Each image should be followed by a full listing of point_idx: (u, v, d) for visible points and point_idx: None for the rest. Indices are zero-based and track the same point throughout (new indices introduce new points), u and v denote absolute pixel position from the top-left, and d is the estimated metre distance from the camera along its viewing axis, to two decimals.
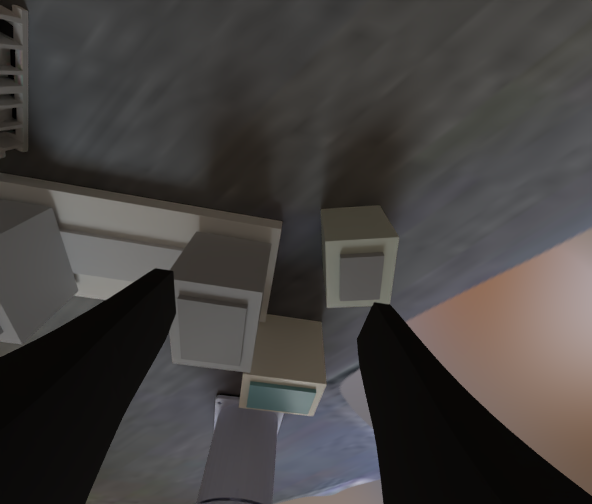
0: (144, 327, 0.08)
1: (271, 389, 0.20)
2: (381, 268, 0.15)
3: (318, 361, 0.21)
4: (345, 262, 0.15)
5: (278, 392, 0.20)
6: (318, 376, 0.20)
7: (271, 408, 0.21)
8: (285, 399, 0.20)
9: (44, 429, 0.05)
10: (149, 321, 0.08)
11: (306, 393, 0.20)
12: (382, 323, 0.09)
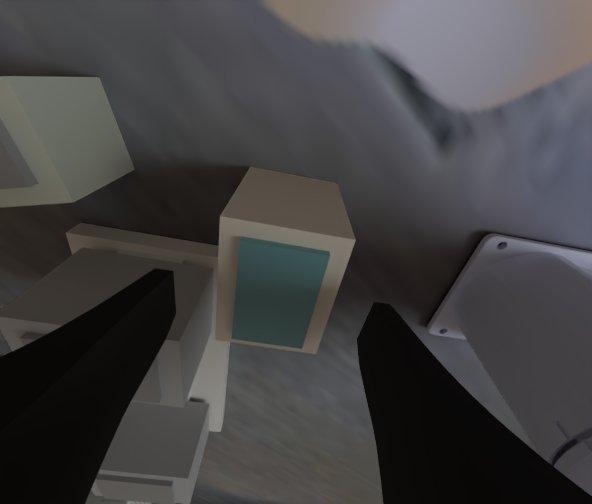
0: (144, 327, 0.08)
1: (239, 312, 0.11)
2: None
3: None
4: None
5: (246, 302, 0.10)
6: None
7: (304, 316, 0.11)
8: (269, 294, 0.10)
9: (44, 429, 0.05)
10: (149, 321, 0.08)
11: (243, 259, 0.09)
12: (382, 323, 0.09)
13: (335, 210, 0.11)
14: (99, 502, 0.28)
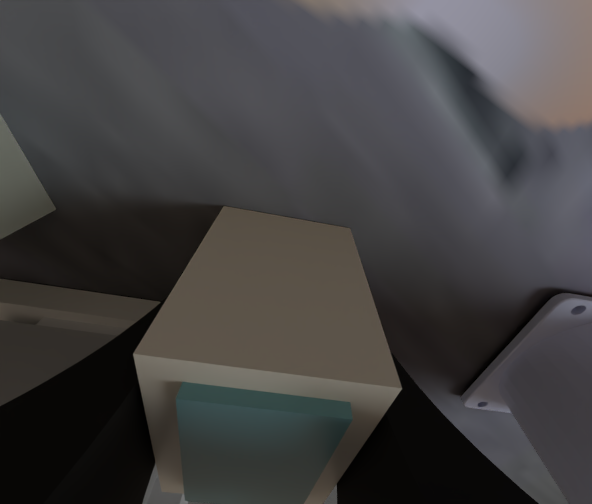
0: None
1: (192, 477, 0.06)
2: None
3: None
4: None
5: (203, 468, 0.06)
6: None
7: (303, 482, 0.06)
8: (241, 460, 0.06)
9: (121, 437, 0.05)
10: None
11: (187, 421, 0.05)
12: None
13: (354, 297, 0.07)
14: None
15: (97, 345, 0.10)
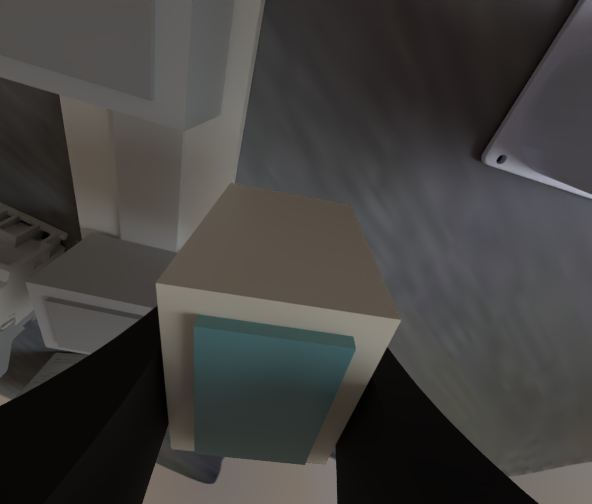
0: None
1: (203, 423, 0.07)
2: None
3: None
4: None
5: (214, 411, 0.06)
6: None
7: (309, 428, 0.07)
8: (251, 400, 0.06)
9: (121, 437, 0.05)
10: None
11: (203, 352, 0.05)
12: None
13: (356, 254, 0.07)
14: None
15: None
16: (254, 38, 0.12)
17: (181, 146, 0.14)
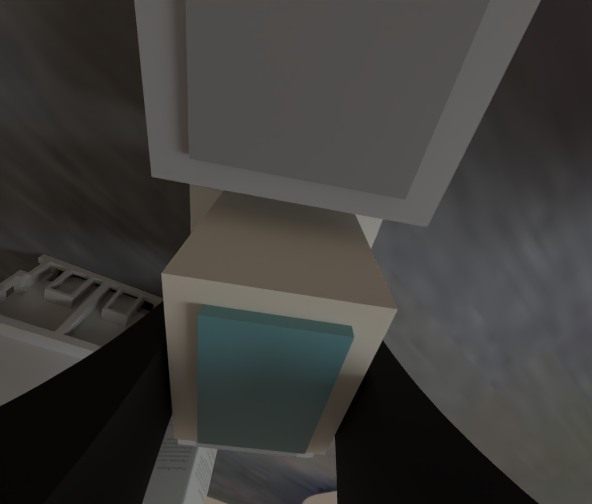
0: None
1: (206, 412, 0.07)
2: None
3: None
4: None
5: (217, 400, 0.06)
6: None
7: (309, 416, 0.07)
8: (252, 389, 0.06)
9: (120, 438, 0.05)
10: None
11: (207, 341, 0.05)
12: None
13: (354, 248, 0.07)
14: (155, 470, 0.21)
15: None
16: None
17: None
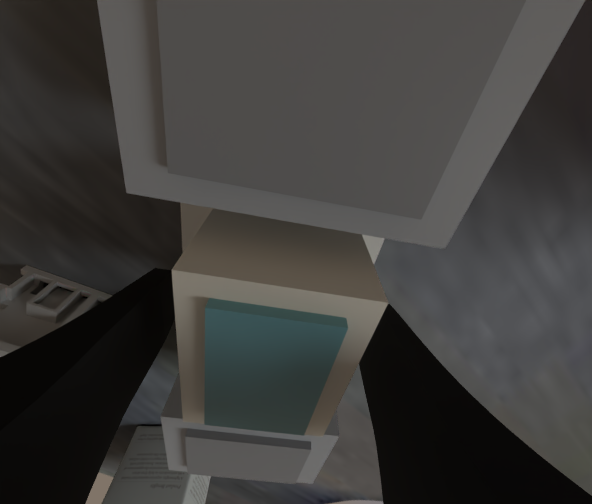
0: (144, 327, 0.08)
1: (213, 396, 0.07)
2: None
3: None
4: None
5: (222, 385, 0.07)
6: None
7: (307, 401, 0.07)
8: (255, 375, 0.07)
9: (45, 429, 0.05)
10: (149, 321, 0.08)
11: (213, 331, 0.06)
12: (382, 323, 0.09)
13: (350, 245, 0.08)
14: (148, 488, 0.20)
15: None
16: None
17: None
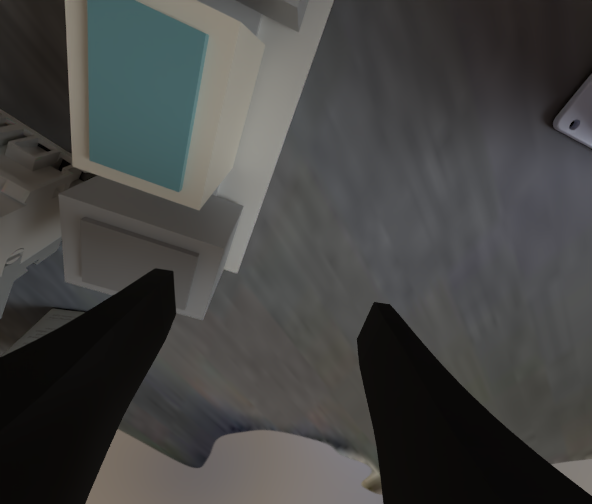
0: (144, 327, 0.08)
1: (96, 115, 0.09)
2: None
3: None
4: None
5: (104, 99, 0.08)
6: None
7: (178, 136, 0.09)
8: (133, 88, 0.08)
9: (45, 429, 0.05)
10: (149, 321, 0.08)
11: (95, 15, 0.07)
12: (382, 323, 0.09)
13: None
14: None
15: None
16: None
17: None
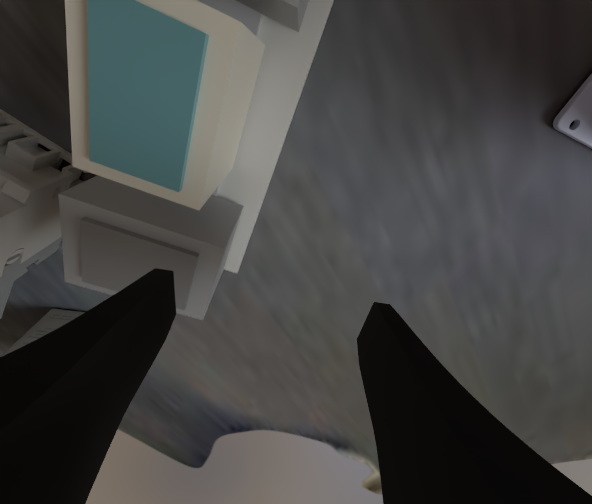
0: (144, 327, 0.08)
1: (96, 115, 0.09)
2: None
3: None
4: None
5: (104, 99, 0.08)
6: None
7: (178, 136, 0.09)
8: (133, 88, 0.08)
9: (45, 429, 0.05)
10: (149, 321, 0.08)
11: (95, 15, 0.07)
12: (382, 323, 0.09)
13: None
14: None
15: None
16: None
17: None
